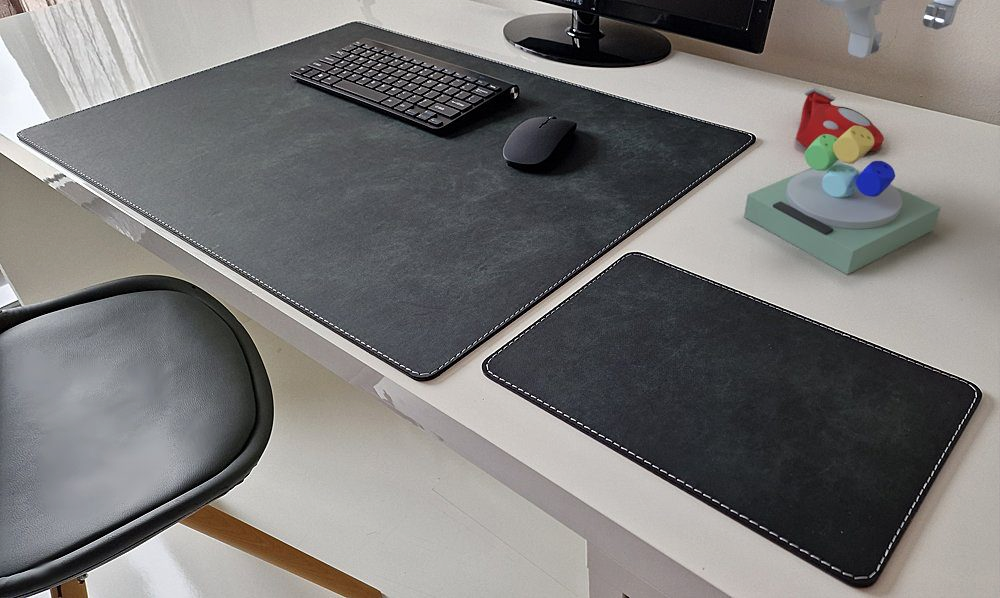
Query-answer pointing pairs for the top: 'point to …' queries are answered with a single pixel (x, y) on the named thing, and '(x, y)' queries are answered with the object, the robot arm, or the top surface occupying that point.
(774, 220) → the scale
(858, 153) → the dice
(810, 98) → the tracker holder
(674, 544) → the top surface
